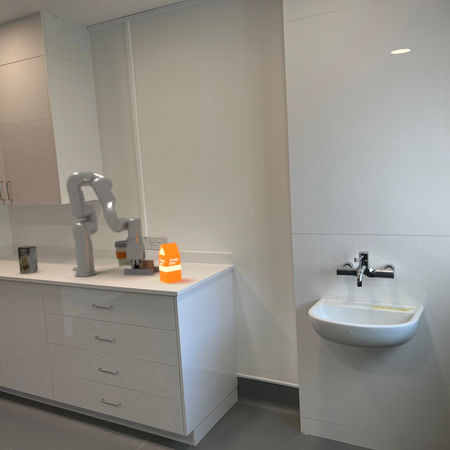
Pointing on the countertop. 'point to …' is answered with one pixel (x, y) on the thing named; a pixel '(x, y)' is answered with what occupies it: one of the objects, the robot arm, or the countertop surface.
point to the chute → (140, 271)
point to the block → (147, 264)
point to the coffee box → (28, 259)
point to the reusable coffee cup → (122, 252)
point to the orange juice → (169, 263)
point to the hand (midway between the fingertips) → (137, 271)
